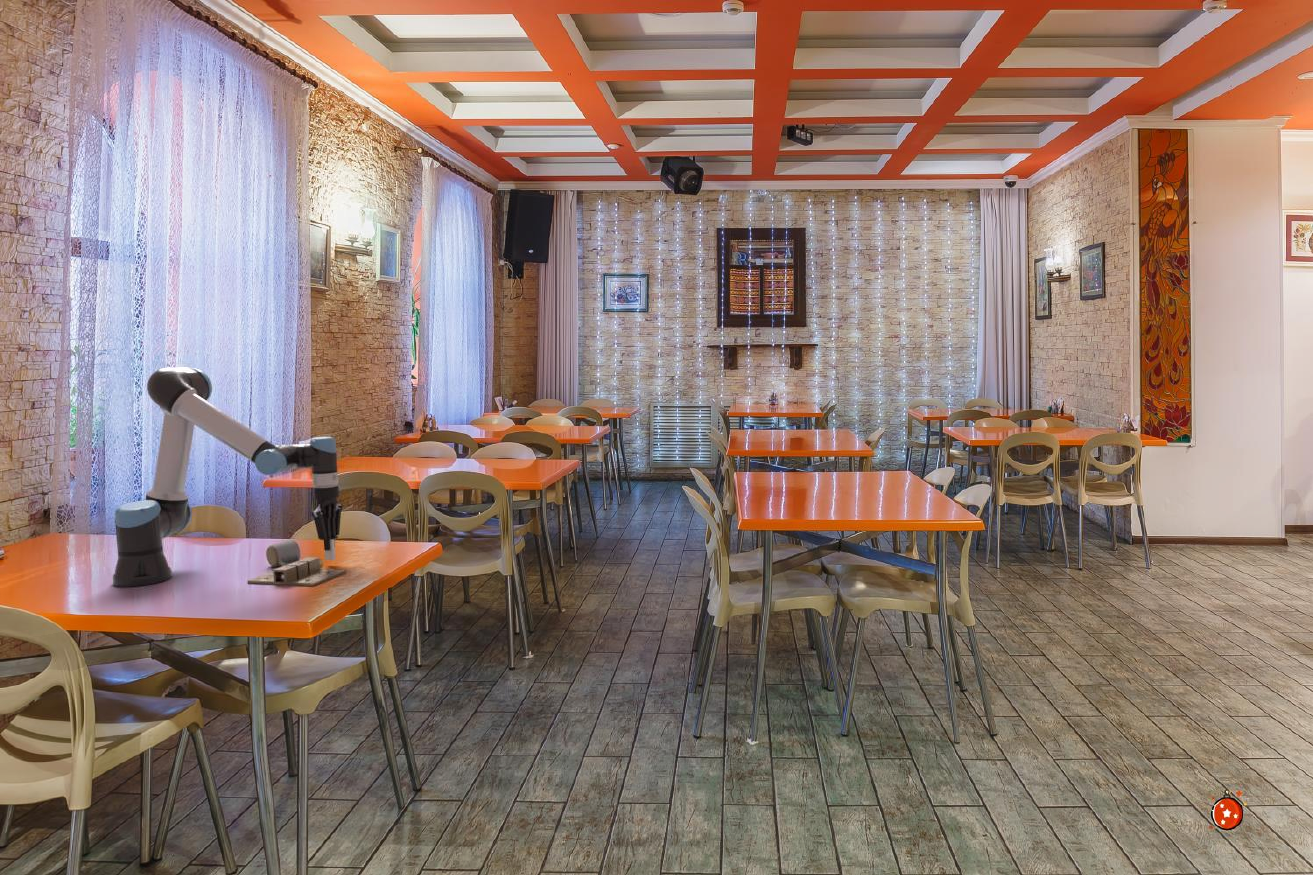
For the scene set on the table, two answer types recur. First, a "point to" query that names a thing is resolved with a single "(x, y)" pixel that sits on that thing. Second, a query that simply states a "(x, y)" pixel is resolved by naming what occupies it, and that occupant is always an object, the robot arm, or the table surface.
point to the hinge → (299, 574)
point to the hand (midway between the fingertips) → (330, 559)
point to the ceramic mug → (283, 553)
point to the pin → (296, 568)
